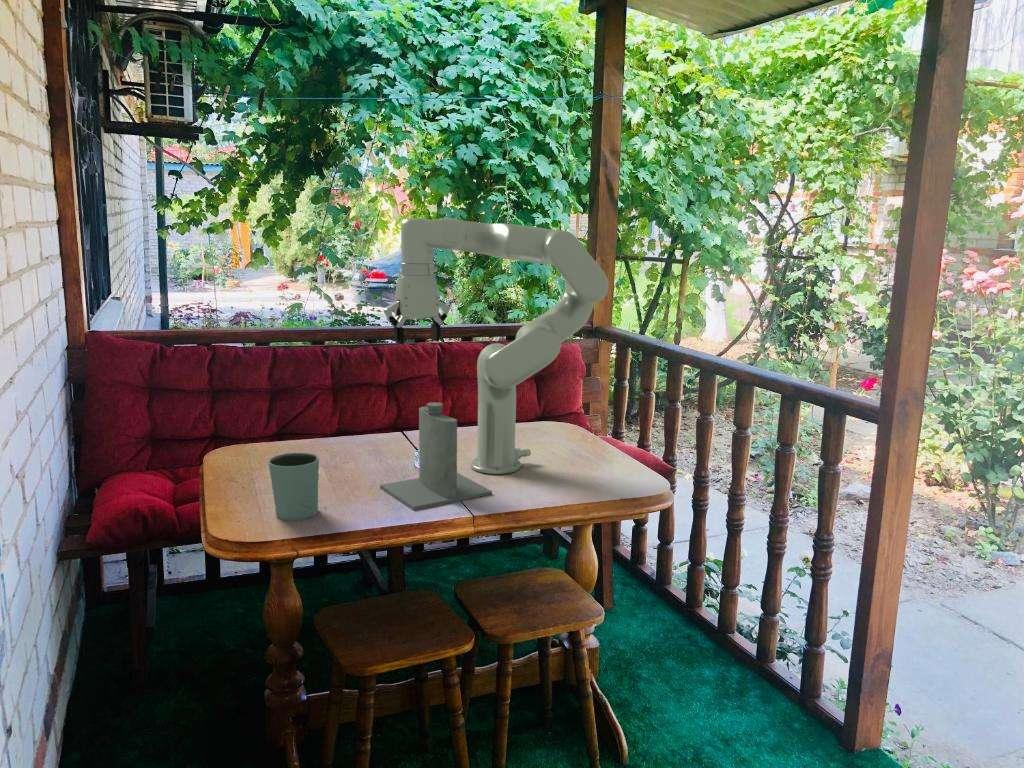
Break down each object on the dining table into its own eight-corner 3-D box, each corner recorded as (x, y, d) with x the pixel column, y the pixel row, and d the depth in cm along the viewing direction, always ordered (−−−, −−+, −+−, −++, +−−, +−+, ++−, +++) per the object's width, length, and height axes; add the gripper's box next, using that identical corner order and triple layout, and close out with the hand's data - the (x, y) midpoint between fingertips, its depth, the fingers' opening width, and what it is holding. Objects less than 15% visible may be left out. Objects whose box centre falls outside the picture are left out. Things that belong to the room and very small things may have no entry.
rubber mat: (455, 474, 194) (455, 471, 194) (491, 494, 180) (491, 491, 180) (380, 488, 183) (380, 484, 183) (413, 510, 169) (413, 506, 169)
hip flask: (459, 496, 176) (459, 409, 172) (442, 499, 174) (442, 411, 170) (429, 477, 189) (429, 395, 185) (413, 479, 187) (413, 397, 183)
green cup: (328, 516, 165) (326, 461, 163) (280, 526, 159) (278, 469, 157) (309, 502, 173) (308, 449, 171) (264, 511, 167) (261, 456, 165)
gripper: (441, 269, 195) (441, 338, 199) (377, 270, 186) (378, 342, 189) (456, 271, 189) (456, 341, 193) (390, 272, 180) (391, 346, 183)
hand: (417, 342), depth 191 cm, fingers open, 9 cm apart
